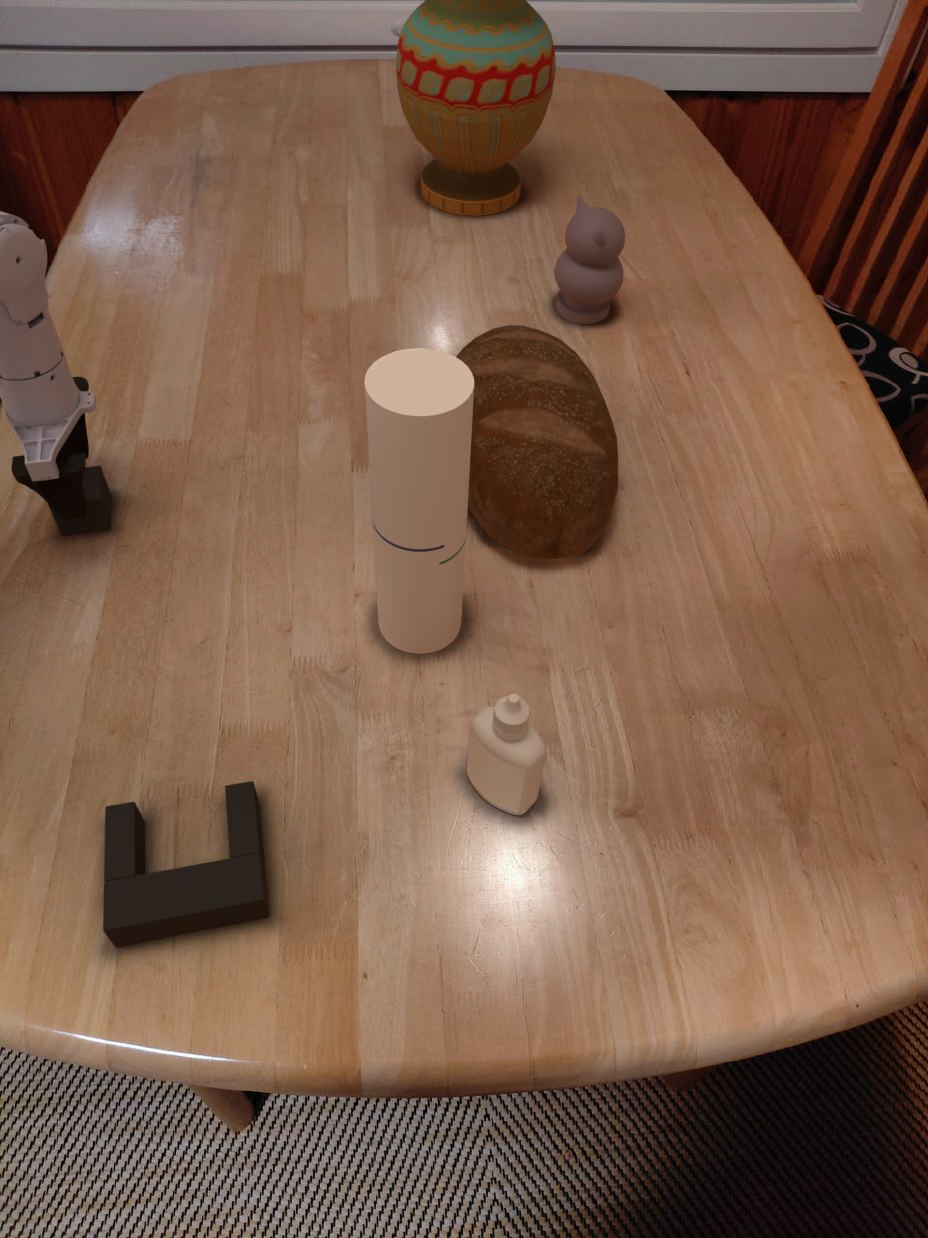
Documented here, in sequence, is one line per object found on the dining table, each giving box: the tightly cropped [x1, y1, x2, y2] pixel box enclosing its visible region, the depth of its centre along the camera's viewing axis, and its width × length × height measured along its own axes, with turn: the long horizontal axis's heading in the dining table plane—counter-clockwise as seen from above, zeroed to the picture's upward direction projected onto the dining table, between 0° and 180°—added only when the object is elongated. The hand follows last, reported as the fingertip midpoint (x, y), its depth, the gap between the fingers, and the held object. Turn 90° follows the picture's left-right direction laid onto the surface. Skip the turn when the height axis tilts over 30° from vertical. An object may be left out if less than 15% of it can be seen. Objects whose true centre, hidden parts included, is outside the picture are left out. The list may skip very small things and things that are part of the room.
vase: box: [395, 0, 557, 217], centre depth 116 cm, size 20×20×30 cm
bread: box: [455, 324, 619, 561], centre depth 89 cm, size 16×29×11 cm, turn 9°
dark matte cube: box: [47, 465, 113, 537], centre depth 85 cm, size 4×4×4 cm
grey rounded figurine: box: [553, 195, 626, 325], centre depth 106 cm, size 8×8×12 cm
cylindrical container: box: [364, 347, 474, 655], centre depth 70 cm, size 7×7×25 cm
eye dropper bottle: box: [466, 693, 547, 816], centre depth 66 cm, size 4×6×12 cm
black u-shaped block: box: [102, 780, 271, 948], centre depth 64 cm, size 10×9×3 cm
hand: (75, 485), depth 84 cm, fingers open, 7 cm apart
